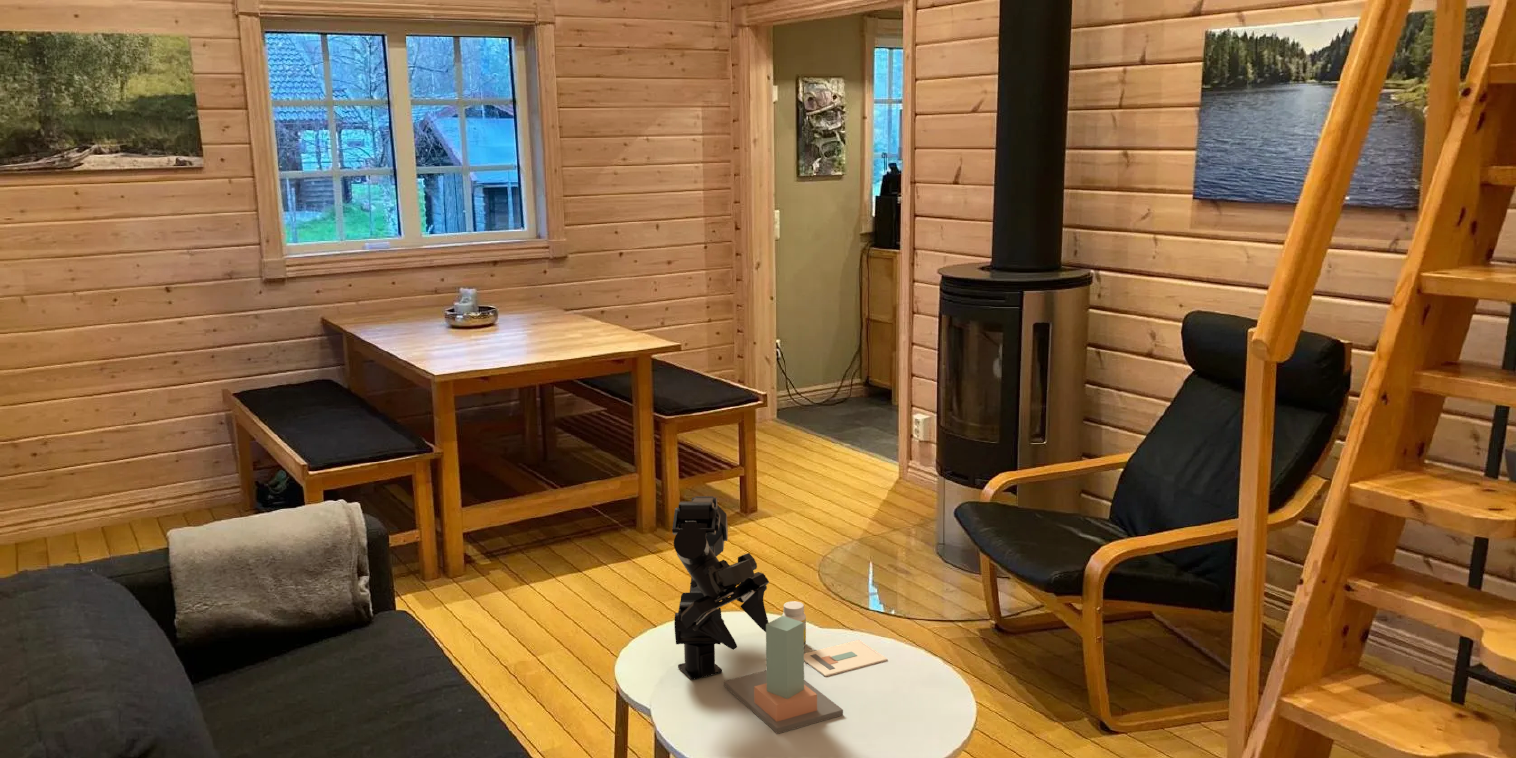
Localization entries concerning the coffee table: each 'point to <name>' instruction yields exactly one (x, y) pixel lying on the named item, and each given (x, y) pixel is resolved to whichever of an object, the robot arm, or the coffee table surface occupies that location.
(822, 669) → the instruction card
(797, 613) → the supplement bottle
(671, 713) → the coffee table surface
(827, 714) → the baseplate
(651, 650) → the coffee table surface
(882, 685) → the coffee table surface
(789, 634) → the tall brick
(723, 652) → the coffee table surface
